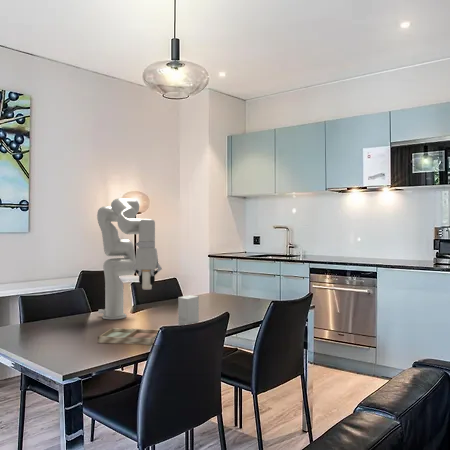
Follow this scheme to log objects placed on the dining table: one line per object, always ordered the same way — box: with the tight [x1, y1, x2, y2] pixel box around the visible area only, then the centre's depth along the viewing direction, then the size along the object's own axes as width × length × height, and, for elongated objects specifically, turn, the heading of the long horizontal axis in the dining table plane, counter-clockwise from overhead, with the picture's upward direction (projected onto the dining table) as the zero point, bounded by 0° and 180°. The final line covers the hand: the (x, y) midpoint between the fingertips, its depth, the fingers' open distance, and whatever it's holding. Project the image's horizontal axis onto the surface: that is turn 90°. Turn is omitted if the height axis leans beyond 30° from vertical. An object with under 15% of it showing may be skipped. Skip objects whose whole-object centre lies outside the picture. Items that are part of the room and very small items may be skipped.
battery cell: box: [141, 270, 153, 291], centre depth 216 cm, size 4×4×11 cm
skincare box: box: [177, 294, 200, 326], centre depth 221 cm, size 8×7×16 cm
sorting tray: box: [97, 327, 159, 346], centre depth 202 cm, size 24×16×2 cm, turn 82°
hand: (146, 283), depth 216 cm, fingers closed on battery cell, 4 cm apart
